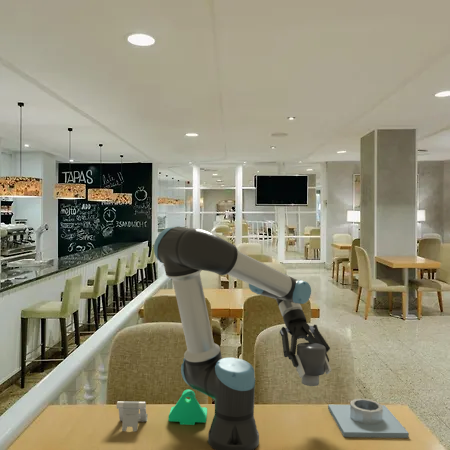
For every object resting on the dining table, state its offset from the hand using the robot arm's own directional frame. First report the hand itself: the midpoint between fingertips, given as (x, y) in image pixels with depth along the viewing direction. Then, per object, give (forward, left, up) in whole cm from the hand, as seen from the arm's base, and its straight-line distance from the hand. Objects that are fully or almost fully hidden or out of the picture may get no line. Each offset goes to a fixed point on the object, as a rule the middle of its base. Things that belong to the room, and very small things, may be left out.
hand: (315, 373), depth 148 cm
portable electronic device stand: (-40, -42, -17) cm, 61 cm away
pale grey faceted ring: (+10, +14, -15) cm, 24 cm away
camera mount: (-31, -26, -17) cm, 44 cm away
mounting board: (+10, +14, -17) cm, 25 cm away
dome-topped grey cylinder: (-3, +1, -4) cm, 5 cm away
